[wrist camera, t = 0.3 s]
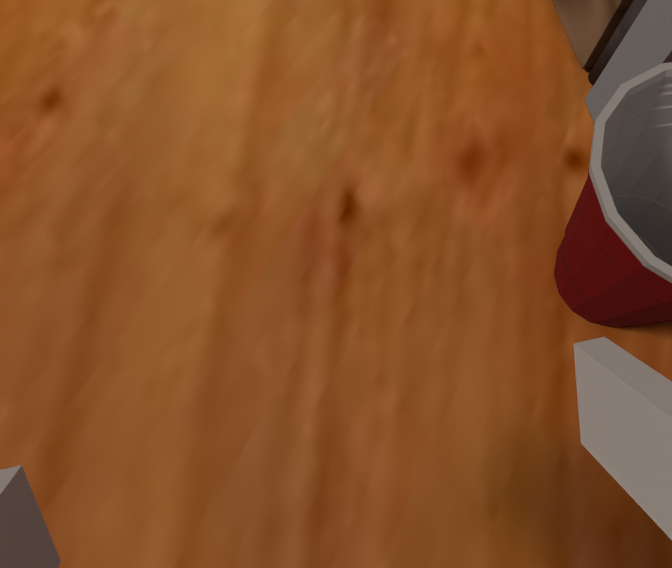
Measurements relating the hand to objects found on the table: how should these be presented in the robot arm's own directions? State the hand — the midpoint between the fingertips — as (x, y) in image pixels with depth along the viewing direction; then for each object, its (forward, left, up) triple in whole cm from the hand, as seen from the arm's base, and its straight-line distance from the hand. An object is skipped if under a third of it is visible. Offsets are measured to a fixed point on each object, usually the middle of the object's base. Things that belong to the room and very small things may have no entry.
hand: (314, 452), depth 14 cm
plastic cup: (+6, -17, -17) cm, 25 cm away
